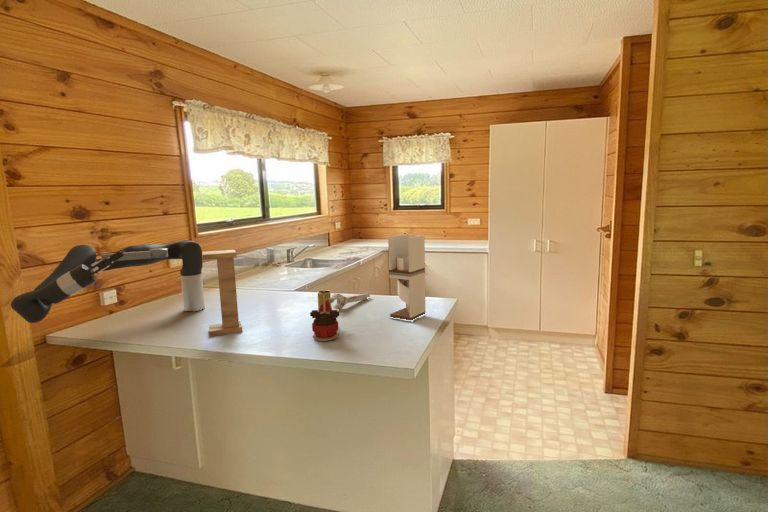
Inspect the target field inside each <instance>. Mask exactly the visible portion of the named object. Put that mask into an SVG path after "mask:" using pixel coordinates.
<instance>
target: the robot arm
mask: <svg viewBox="0 0 768 512" xmlns="http://www.w3.org/2000/svg"><path fill="white" fill-rule="evenodd" d="M157 248H168V257H165V258H149V259H135V260H121V261H116V260H118V259H119V258H121V257H123V256H124V254H123V253H124V252H139V251H150V249H157ZM114 253H115V254H113V255H112V256H109V257H107V258H105V259H102V257H100V258H97V252H96V249H95V248H94V247H93V246H91V245H88V244H77V245H75V246H73V247H72V248H70V249H69V251H68V252H67V253H66V255H65V256H64V258H63V259H62V261H61V262H60V263H59V264H58V265H57V266H56V267H55V269H54V270H53V271H52V272H51V273H50V274H49V275H48V276H47V277H46V278H45V279H44V280H42V281H41V283H40V284H39V285H37V286H36V287H35V288H34V289H33V290H32V291H28V292H23V293H21V294H18V295H17V296H16V297H14V298H13V299H12V300H11V303H10V308H12V310H13V311H14V312H15V313H17V314H18V315H19V316H20V317H21V318H23V319H24V320H25V321H26V322H28V323H29V324H35V323H36V324H37V323H39V322H41V321H43V320H44V319H45V318H46V317H47V316H48V314H49V313H50V311H51V308H52V306H53V304H54V305H56V304H59V303H61V302H63V301H65V300H66V299H68V298H69V297H71V296H73V295H76V294H77V293H79V292H81V291H82V290H84V289H86V288H87V287H89V286H91V285H93V284H94V283H96V282H97V276H96V275H95V274H97V275H100V274H101V273H102V272H105V271H110V270H117V269H118V270H119V269H124V268H131V267H133V268H134V267H142V266H149V265H152V264H157V263H159V262H162V261H168V260H169V261H170V260H181V261H182V263H181V264H182V266H181V268H180V270H179V272H180V273H179V274H180V282H181V283H180V284H181V292H182V301H183V303H182V304H183V311H184V312H186V311H193V312H198V311H202V309H203V310H205V309H206V307H205V306H206V305H205V294H204V285H203V283H204V282H203V272H202V270H203V266H204V265H203V264H204V263H203V250H202V247H201V245H200V244H199V242H197V241H194V240H189V239H187V240H180V241H176V242H171V243H170V242H169V243H163V244H162V243H160V244H158V243H153V244H152V243H149V244H146V243H145V244H135V245H128V246H126V247H124V248H122V249H120V250H118V251H117V252H114ZM110 257H111V258H110Z"/></svg>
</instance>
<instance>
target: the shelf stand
mask: <svg viewBox="0 0 768 512" xmlns="http://www.w3.org/2000/svg"><path fill="white" fill-rule="evenodd" d="M235 258H237V251H236V249H225V250H212V251H211V250H210V251H202V261H208V260H216V265H217V277H218V289H219V291H218V292H219V301H220V303H219V304H220V311H221V313H220V314H221V323H217V324H216V323H214V324H209V325H208V328H209V329H208V331H209V337H216V336H217V337H218V336H223V335H225V336H226V335H230V334H236V333H237V334H238V333H243V326H242V323H241V321H239V308H238V295H237V284H236V270H235V261H234V260H235Z"/></svg>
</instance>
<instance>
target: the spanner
mask: <svg viewBox="0 0 768 512" xmlns="http://www.w3.org/2000/svg"><path fill="white" fill-rule="evenodd" d="M115 253H116V252H114V253H113V252H111V253H102V254H101V257H100V258H102V259H105V258H107V257H109V256H112V255H113V254H115ZM123 254H124V256H123V257H121V258H119V259H118V260H116V261H121V260H135V259H149V258H165V257H168V248H157V249H150V251H139V252H124V253H123ZM110 258H111V257H110Z"/></svg>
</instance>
